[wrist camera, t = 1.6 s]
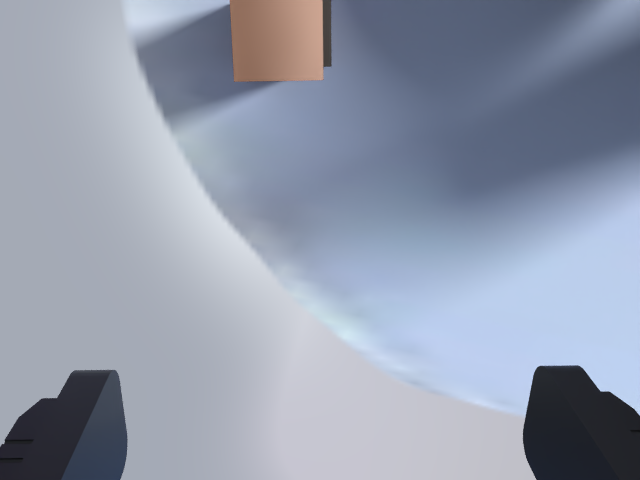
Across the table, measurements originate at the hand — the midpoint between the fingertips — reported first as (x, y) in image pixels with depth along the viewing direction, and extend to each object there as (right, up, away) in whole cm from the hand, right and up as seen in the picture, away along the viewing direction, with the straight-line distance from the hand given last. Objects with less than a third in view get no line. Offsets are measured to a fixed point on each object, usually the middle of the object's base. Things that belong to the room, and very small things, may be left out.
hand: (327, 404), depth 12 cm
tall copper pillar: (-3, +15, +23) cm, 28 cm away
